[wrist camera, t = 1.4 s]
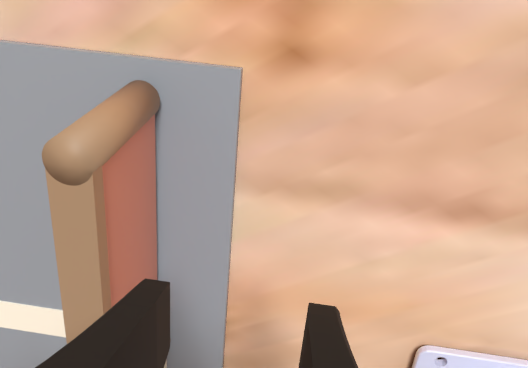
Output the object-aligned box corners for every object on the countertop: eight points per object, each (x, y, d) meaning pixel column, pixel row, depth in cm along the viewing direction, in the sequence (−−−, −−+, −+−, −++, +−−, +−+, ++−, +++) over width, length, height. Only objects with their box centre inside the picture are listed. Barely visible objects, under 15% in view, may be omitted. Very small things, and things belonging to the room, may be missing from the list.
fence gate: (162, 320, 23) (113, 429, 18) (131, 315, 23) (75, 422, 18) (159, 82, 18) (91, 140, 13) (121, 77, 18) (38, 132, 13)
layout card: (242, 67, 18) (240, 70, 17) (215, 489, 29) (213, 495, 28) (-202, 16, 19) (-212, 18, 19) (-68, 438, 30) (-72, 444, 29)
